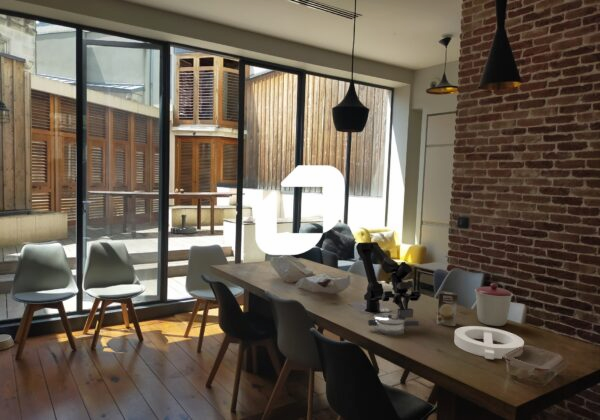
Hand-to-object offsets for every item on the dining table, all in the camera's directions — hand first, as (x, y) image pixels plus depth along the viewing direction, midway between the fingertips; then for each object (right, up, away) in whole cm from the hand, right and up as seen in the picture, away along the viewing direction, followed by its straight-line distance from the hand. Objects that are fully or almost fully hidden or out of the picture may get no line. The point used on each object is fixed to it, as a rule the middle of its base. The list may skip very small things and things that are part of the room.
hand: (405, 311), depth 214 cm
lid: (-6, -3, -3) cm, 8 cm away
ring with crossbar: (+32, -11, -20) cm, 39 cm away
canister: (+48, -10, +14) cm, 51 cm away
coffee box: (+24, -9, +11) cm, 28 cm away
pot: (-7, -9, -3) cm, 11 cm away
